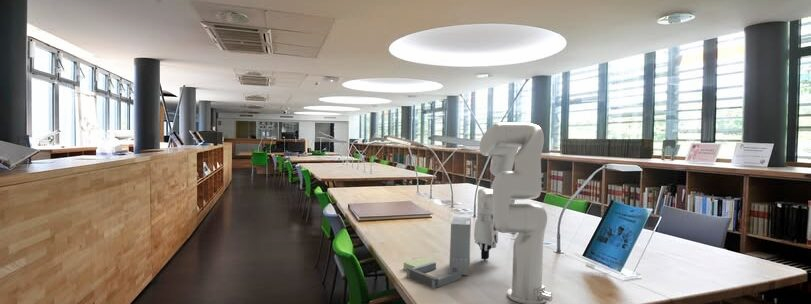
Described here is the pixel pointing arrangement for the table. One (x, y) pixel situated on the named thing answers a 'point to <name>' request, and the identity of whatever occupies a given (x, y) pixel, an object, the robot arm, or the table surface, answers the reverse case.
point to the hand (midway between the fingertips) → (484, 258)
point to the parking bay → (434, 282)
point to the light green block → (416, 263)
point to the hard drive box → (460, 245)
